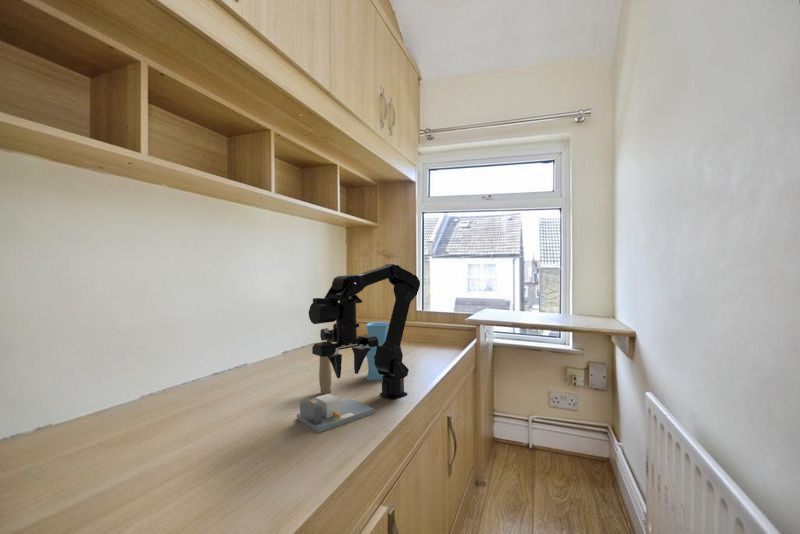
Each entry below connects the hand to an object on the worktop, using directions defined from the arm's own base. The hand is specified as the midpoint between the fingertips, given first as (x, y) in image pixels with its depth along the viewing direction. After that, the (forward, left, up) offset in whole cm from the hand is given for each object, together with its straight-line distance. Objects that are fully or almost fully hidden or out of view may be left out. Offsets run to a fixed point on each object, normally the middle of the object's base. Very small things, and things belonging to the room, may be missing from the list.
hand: (347, 375), depth 96 cm
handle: (-4, -19, -10) cm, 22 cm away
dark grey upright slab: (+12, 0, -9) cm, 14 cm away
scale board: (+4, 0, -10) cm, 11 cm away
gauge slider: (+6, +1, -9) cm, 11 cm away
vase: (-27, -20, -10) cm, 35 cm away
